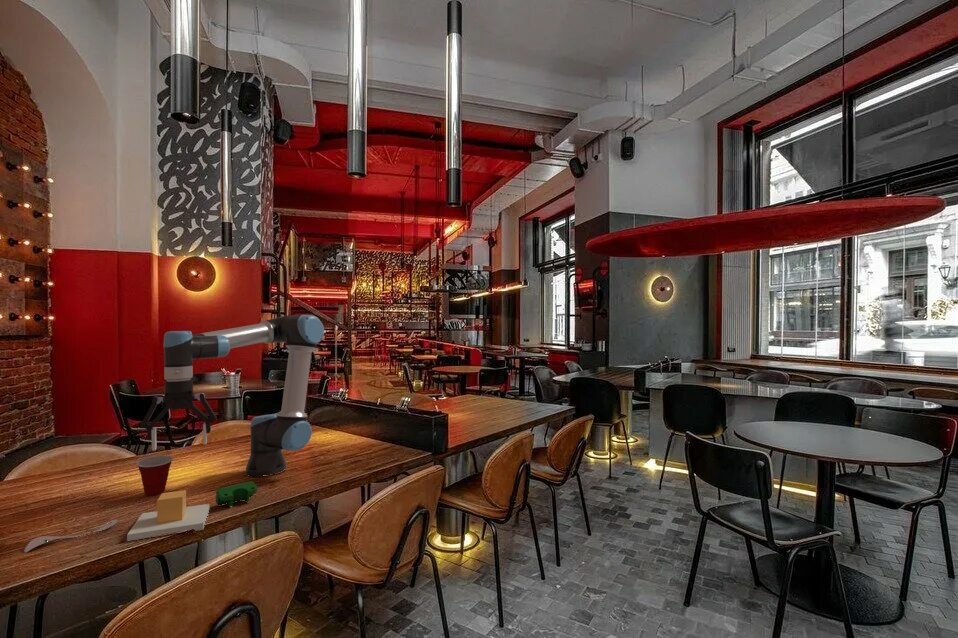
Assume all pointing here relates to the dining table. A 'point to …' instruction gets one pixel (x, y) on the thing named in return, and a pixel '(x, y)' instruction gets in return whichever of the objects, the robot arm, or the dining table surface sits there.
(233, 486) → the clamp
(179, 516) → the tan wooden block
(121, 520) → the dining table surface
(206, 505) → the base plate
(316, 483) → the dining table surface
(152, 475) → the plastic cup
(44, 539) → the metal spoon
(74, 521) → the dining table surface
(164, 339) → the robot arm
